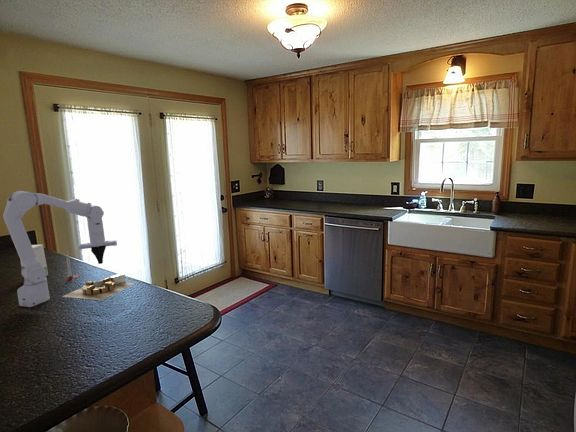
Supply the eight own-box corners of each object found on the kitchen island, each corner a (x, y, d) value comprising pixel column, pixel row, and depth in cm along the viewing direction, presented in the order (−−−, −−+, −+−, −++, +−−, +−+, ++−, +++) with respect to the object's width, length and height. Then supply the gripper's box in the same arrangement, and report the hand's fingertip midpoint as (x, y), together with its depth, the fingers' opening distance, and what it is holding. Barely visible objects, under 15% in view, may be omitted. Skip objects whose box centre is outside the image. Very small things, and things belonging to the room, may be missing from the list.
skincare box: (36, 280, 167) (31, 248, 164) (23, 280, 167) (17, 248, 165) (49, 274, 176) (43, 243, 173) (36, 274, 176) (30, 244, 173)
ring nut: (76, 294, 143) (74, 286, 143) (105, 279, 159) (104, 272, 159) (101, 295, 141) (100, 287, 140) (128, 280, 157) (127, 273, 156)
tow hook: (84, 275, 173) (64, 280, 165) (82, 249, 171) (61, 253, 163) (93, 278, 168) (73, 283, 160) (91, 251, 166) (70, 256, 159)
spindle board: (102, 303, 137) (101, 291, 136) (62, 299, 143) (60, 288, 142) (135, 285, 154) (134, 275, 153) (98, 282, 160) (97, 273, 159)
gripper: (75, 236, 147) (80, 268, 150) (113, 232, 152) (117, 263, 154) (79, 233, 154) (83, 263, 156) (115, 229, 159) (119, 259, 161)
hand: (100, 263), depth 156 cm, fingers closed
